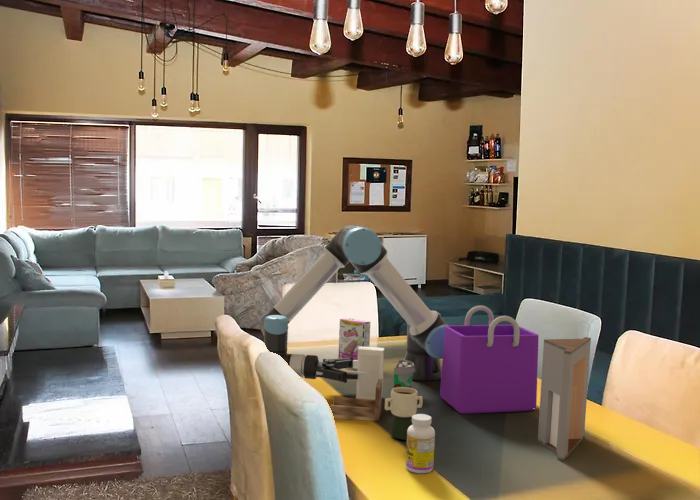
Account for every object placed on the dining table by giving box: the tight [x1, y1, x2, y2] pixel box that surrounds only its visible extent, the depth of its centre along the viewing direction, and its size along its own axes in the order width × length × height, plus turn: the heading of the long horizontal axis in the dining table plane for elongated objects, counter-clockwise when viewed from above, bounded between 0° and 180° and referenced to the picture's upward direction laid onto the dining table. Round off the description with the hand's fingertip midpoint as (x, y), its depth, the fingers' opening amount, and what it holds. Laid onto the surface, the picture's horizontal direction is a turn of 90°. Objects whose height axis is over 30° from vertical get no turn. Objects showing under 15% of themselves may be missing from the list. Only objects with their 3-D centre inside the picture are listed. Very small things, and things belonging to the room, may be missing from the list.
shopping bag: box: [439, 305, 539, 415], centre depth 218 cm, size 28×22×30 cm
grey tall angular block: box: [537, 336, 592, 462], centre depth 186 cm, size 21×10×28 cm, turn 148°
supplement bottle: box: [405, 413, 436, 475], centre depth 167 cm, size 7×7×13 cm
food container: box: [393, 358, 415, 388], centre depth 227 cm, size 12×6×10 cm, turn 168°
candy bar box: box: [337, 317, 371, 360], centre depth 265 cm, size 11×5×16 cm, turn 58°
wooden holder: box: [329, 379, 383, 422], centre depth 205 cm, size 14×9×10 cm, turn 83°
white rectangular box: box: [355, 346, 385, 401], centre depth 221 cm, size 8×4×16 cm, turn 83°
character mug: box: [384, 387, 424, 441], centre depth 187 cm, size 11×7×13 cm, turn 108°
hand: (371, 370), depth 221 cm, fingers open, 13 cm apart
